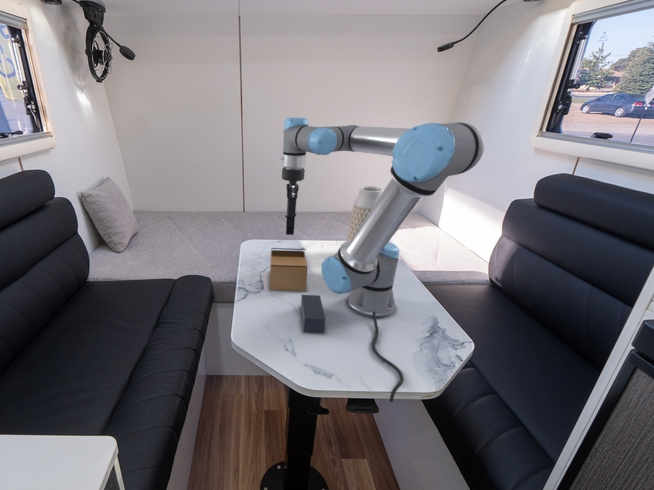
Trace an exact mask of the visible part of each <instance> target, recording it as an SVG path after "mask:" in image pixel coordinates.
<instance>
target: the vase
mask: <svg viewBox="0 0 654 490" xmlns="http://www.w3.org/2000/svg"><path fill="white" fill-rule="evenodd" d="M383 191H384V189H383V188H381V187H380V186H379V187H378V186H375V185H374V186H373V185H363V186H360V187H359V190H358V195H357V196H356V199H355V200H354V202H353V206H352V210H351V216H350V221H349V226H348V233H347V238H346V241H351V240H352V238H353V237H354V235H355V234H356V232H357V230H358V229H359V227H360V226H361V224H362V223H363V221H364V220H365V218H366V217H367V215H368V214H369V212H370V211H371V209H372V208H373V206H374V205H375V203H376V202H377V200H378V199H379V197H380V196H381V194H382V193H383Z"/></svg>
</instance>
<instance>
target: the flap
mask: <svg viewBox="0 0 654 490" xmlns="http://www.w3.org/2000/svg"><path fill="white" fill-rule="evenodd" d="M270 249H271V250H285V251H306V250H307V248H290V247H289V248H286V247H271V248H270Z"/></svg>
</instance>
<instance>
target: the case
mask: <svg viewBox="0 0 654 490" xmlns="http://www.w3.org/2000/svg"><path fill="white" fill-rule="evenodd" d="M300 315H301V323H302V329H303V330H302V331H303V333H315V334H318V333H319V334H324V332H325V323H326V317H325V311H324V307H323V303H322V298H321V295H320V294H319V295H317V294H301V299H300Z"/></svg>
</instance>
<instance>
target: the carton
mask: <svg viewBox="0 0 654 490" xmlns="http://www.w3.org/2000/svg"><path fill="white" fill-rule="evenodd" d="M269 265H270V266H269V267H270V268H269V270H270V271H269V290H270V291H290V292H291V291H292V292H306V289H307V280H308V279H307V278H308V260H307V257H306V252H305V250H285V249H271V250H270V264H269Z"/></svg>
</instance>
